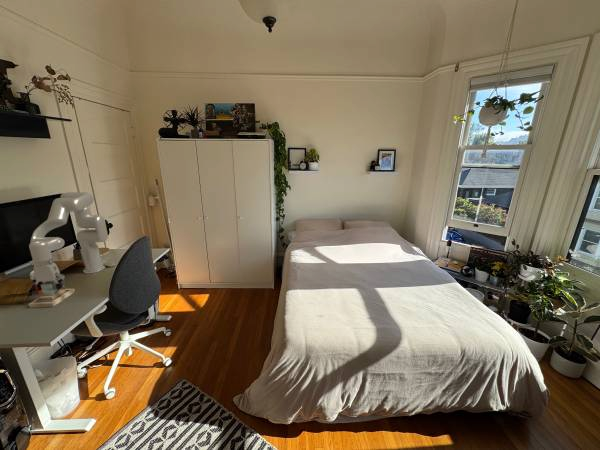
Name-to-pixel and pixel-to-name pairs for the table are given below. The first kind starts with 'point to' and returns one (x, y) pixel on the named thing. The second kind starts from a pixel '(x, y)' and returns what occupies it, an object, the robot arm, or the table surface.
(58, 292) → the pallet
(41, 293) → the paper cup
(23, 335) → the table surface
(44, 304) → the wooden picture frame
